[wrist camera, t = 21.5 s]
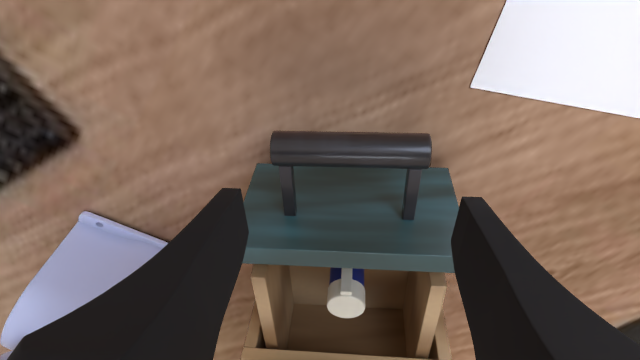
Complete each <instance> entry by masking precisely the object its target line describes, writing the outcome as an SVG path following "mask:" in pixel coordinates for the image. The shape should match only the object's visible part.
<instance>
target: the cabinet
mask: <svg viewBox="0 0 640 360" xmlns="http://www.w3.org/2000/svg"><path fill="white" fill-rule="evenodd" d="M241 360H452V356H451V351H450V345H449V339H448V334H447V328H446V322H445V317H444V311H443V306H442V307H441V311H440V315H439V319H438V322H437V326H436V330H435V334H434V337H433V341H432V345H431V348H430V352H429V356H428V359H417V358H402V357H386V356H370V355H355V354H339V353H324V352H308V351H293V350H277V349H266V345H265V340H264V336H263V331H262V327H261V322H260V318H259V313H258V309H257V304H256V300H255V302H254V306H253V310H252V314H251V319H250V323H249V327H248V331H247V335H246V339H245V343H244V348H243V351H242V355H241Z"/></svg>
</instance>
